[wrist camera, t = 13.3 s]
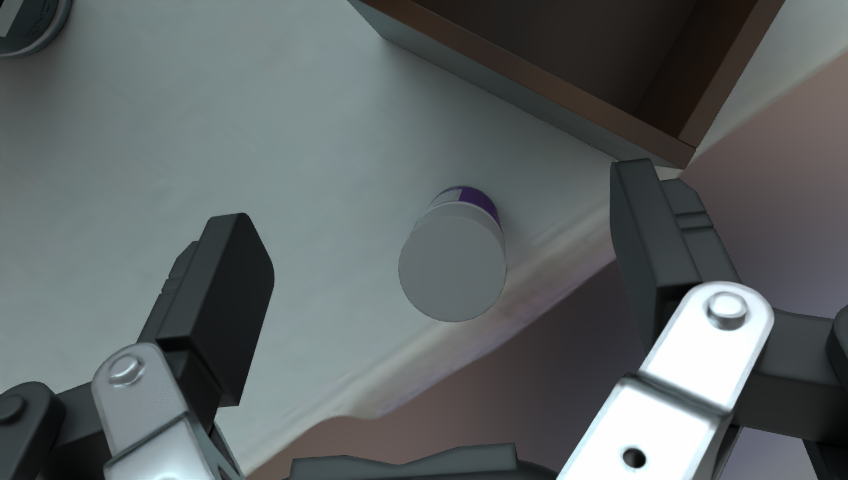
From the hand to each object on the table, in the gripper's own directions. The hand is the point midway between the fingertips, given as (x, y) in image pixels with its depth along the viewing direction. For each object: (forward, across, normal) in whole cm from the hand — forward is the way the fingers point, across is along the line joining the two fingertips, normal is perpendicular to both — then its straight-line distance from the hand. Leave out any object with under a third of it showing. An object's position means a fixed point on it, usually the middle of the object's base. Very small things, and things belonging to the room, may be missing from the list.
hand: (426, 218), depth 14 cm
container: (+20, +2, +17) cm, 26 cm away
